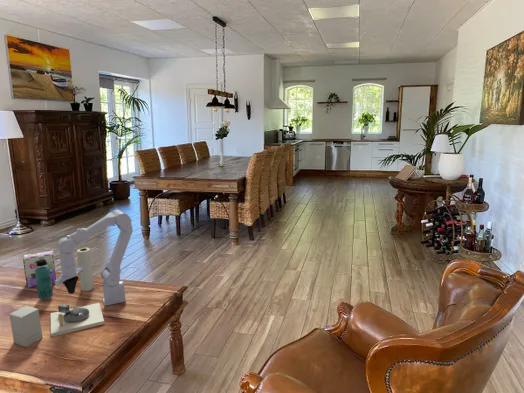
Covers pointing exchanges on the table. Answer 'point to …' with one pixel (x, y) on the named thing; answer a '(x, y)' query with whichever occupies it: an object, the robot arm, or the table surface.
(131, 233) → the robot arm
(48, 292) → the beverage bottle
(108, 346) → the table surface
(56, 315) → the base plate
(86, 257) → the paper towel roll
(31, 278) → the candy box
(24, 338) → the supplement box
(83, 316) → the flange
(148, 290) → the table surface
